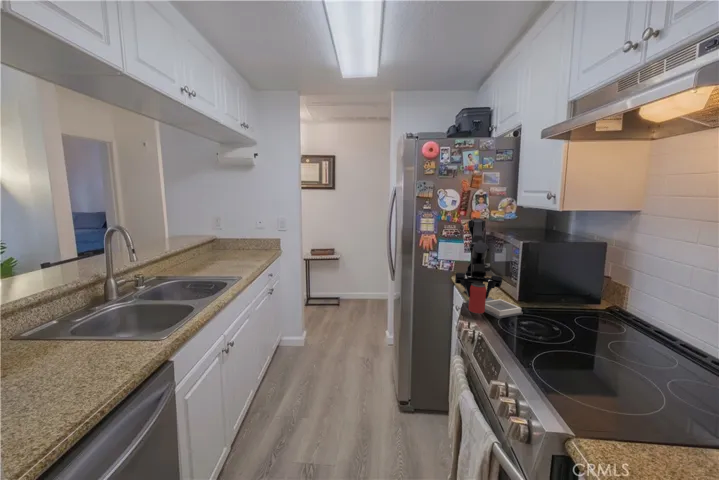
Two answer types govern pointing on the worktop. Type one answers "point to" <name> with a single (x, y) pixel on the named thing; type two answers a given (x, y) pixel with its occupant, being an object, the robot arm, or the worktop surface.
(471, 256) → the robot arm
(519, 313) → the plate
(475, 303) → the beer can
